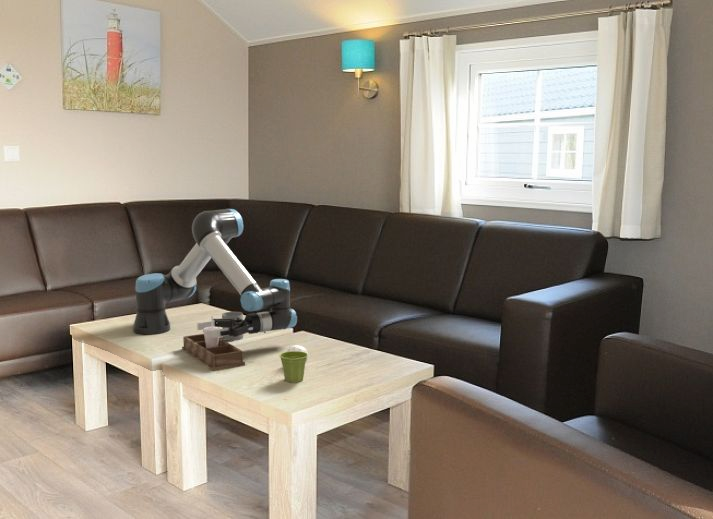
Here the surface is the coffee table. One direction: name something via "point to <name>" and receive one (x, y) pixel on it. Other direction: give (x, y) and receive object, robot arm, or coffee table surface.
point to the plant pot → (293, 365)
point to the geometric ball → (298, 349)
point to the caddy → (213, 352)
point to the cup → (228, 316)
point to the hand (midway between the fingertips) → (204, 330)
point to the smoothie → (207, 334)
